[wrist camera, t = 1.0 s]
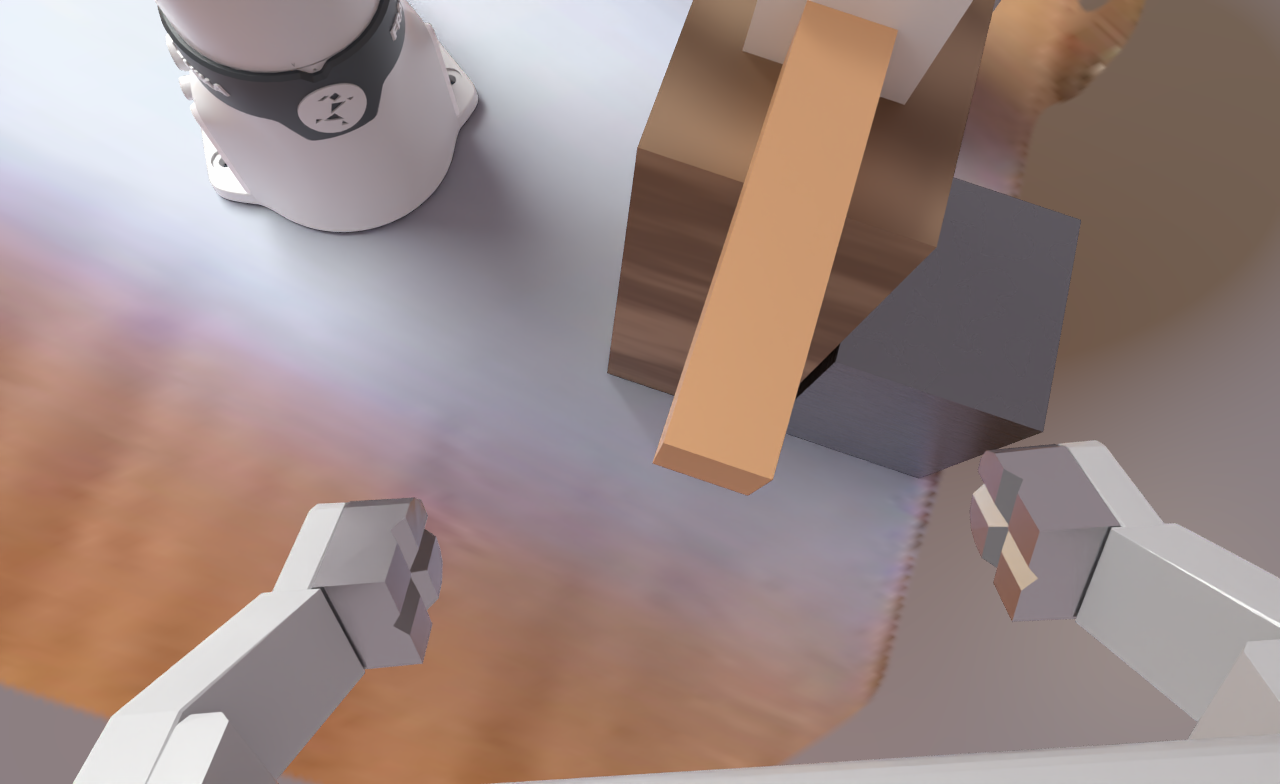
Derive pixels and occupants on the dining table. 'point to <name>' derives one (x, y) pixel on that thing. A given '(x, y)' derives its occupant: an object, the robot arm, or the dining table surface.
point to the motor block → (951, 343)
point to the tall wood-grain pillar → (715, 174)
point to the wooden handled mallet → (790, 223)
